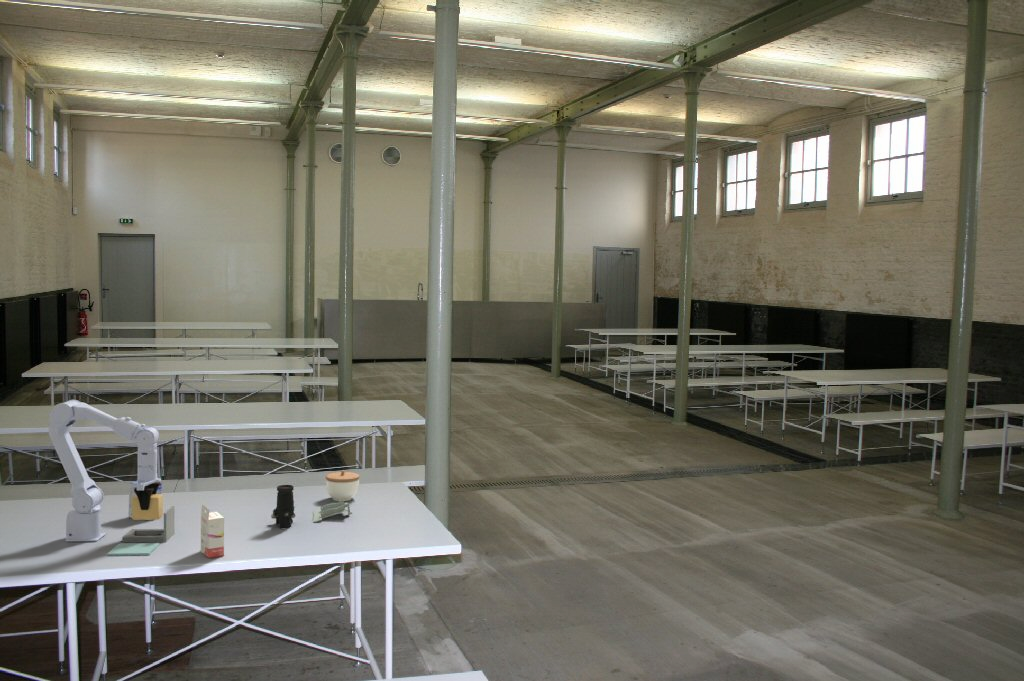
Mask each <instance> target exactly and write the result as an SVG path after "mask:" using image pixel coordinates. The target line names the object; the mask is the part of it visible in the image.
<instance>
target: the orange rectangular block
mask: <svg viewBox="0 0 1024 681" xmlns="http://www.w3.org/2000/svg"><path fill="white" fill-rule="evenodd" d="M163 517H164V495H163V493H161V494H151V498H150V505H149V509H148V510H141V508H140V504H139V500H138V497H137V495H135V496H134V497H133V498H132V518H131V520H134V521H144V520H145V521H153V520H159V519H161V518H163Z"/></svg>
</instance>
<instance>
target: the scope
mask: <svg viewBox="0 0 1024 681" xmlns="http://www.w3.org/2000/svg"><path fill="white" fill-rule="evenodd" d="M294 489H295V488H294V485H292V484H280V485H277V487H276V491H277V493H276V494H277V495H276V507H275V508H274V509H273V510H272V513H271V516H270V518H271V519H273V520H274V519H275V524H276V525H278V528H279V529H281V528H288V529H290V527H291V528H292V523H294V521H293V519H294V518H296V513H295V508H296V506H295V500H294V492H293V491H294Z"/></svg>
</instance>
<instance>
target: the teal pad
mask: <svg viewBox="0 0 1024 681" xmlns="http://www.w3.org/2000/svg"><path fill="white" fill-rule="evenodd" d="M160 544H161V542H152V543H151V542H123V543H118V544H117V545H115V547H113V548H112V549H111V550H110V551H109V552H108V553H107V557H108V556H110V555H112V556H115V557H117V555H118V556H150V555H151V554H152V553H153V552H154V551H155V550H156V549H157V548H158V547H159V546H160ZM110 557H111V556H110Z"/></svg>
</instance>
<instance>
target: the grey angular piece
mask: <svg viewBox="0 0 1024 681" xmlns="http://www.w3.org/2000/svg"><path fill="white" fill-rule="evenodd" d="M158 534H161V535H158ZM134 535H135V536H134ZM173 535H175V506H174V505H172V506H170V507H169V508H168V509H166V511H165V512H163V528H136V529H135V528H134V529H133V528H132V529H130V530H129V531H128V532H127V533H126V534H124V535H123V536H122V537H121V543H151V542H152V543H162V542H163V543H165V541H167V540H168V541H169V539H171V538H172V537H173ZM168 541H167V542H168Z"/></svg>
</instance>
